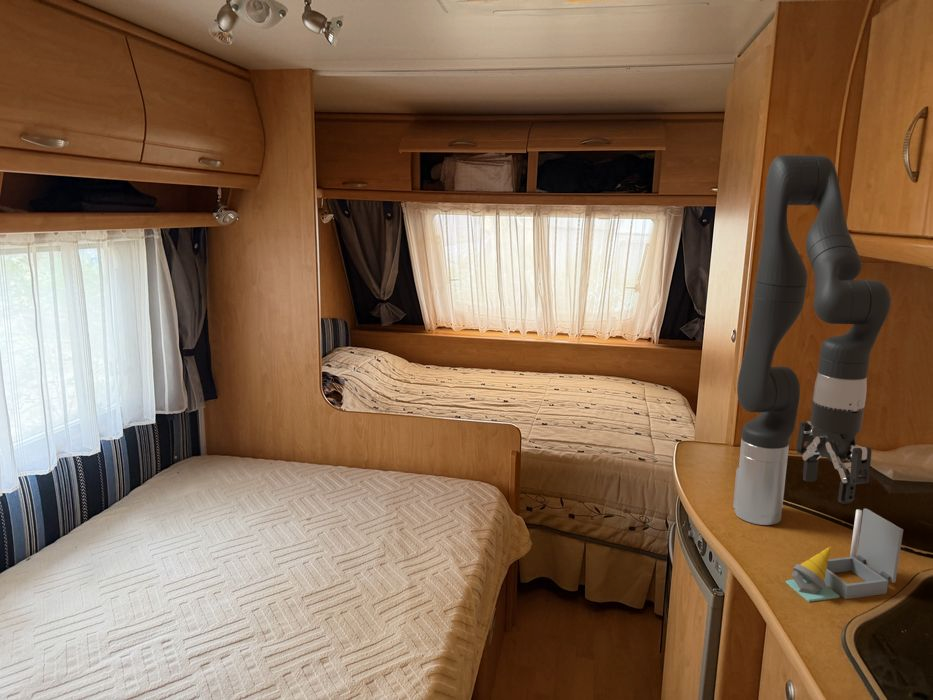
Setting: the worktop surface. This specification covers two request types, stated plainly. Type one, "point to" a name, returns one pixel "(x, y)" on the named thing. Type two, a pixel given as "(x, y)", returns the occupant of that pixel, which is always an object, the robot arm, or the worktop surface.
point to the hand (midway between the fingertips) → (826, 491)
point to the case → (868, 557)
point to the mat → (820, 595)
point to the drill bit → (812, 572)
